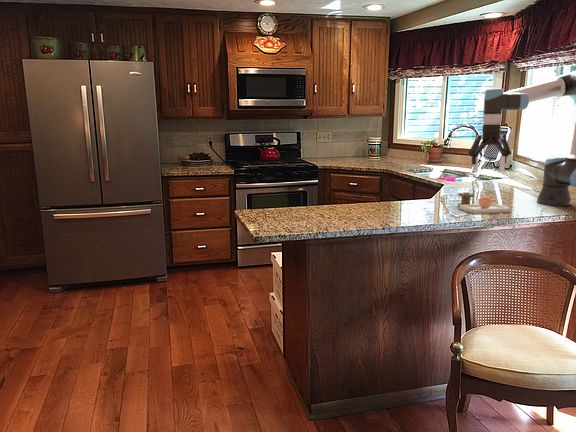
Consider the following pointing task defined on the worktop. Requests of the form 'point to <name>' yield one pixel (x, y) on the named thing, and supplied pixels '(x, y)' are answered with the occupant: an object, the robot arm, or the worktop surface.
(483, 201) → the ball
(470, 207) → the tray
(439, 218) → the worktop surface
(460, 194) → the pedestal
